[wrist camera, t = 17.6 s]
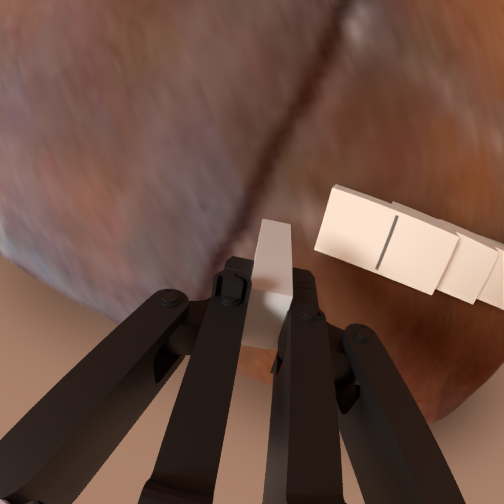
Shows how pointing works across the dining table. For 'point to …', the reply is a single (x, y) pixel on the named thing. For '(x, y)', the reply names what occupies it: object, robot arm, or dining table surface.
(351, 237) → the domino
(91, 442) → the robot arm
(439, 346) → the dining table surface
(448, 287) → the domino
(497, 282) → the domino
